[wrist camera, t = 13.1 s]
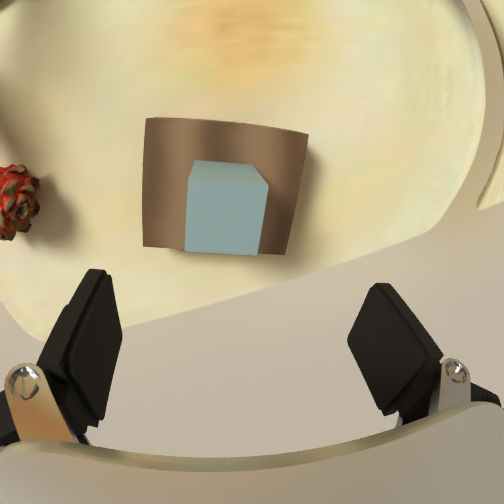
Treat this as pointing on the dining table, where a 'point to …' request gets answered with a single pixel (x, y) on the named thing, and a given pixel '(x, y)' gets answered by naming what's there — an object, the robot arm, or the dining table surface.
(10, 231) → the dragon fruit
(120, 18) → the dining table surface
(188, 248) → the block
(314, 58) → the dining table surface
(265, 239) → the plinth
